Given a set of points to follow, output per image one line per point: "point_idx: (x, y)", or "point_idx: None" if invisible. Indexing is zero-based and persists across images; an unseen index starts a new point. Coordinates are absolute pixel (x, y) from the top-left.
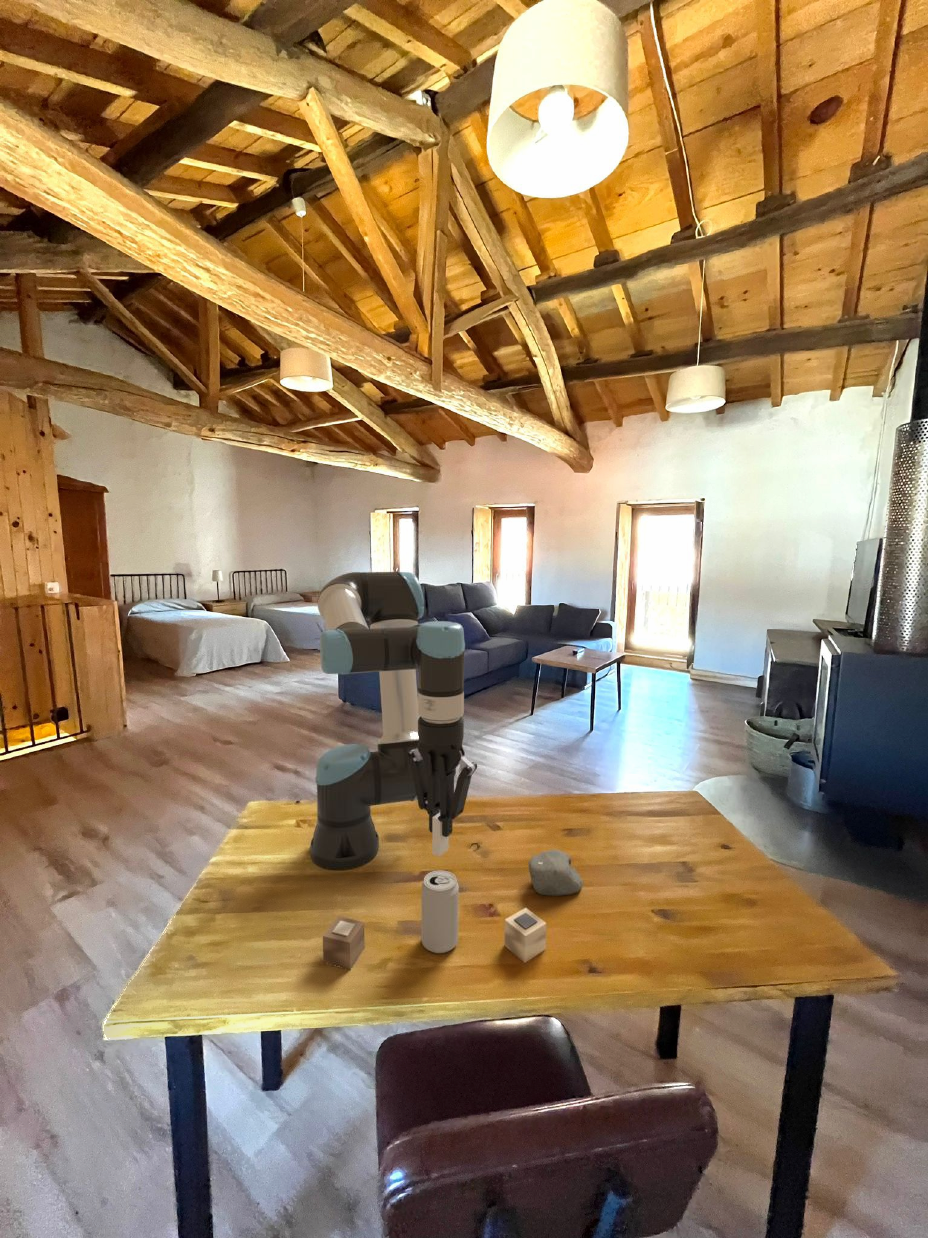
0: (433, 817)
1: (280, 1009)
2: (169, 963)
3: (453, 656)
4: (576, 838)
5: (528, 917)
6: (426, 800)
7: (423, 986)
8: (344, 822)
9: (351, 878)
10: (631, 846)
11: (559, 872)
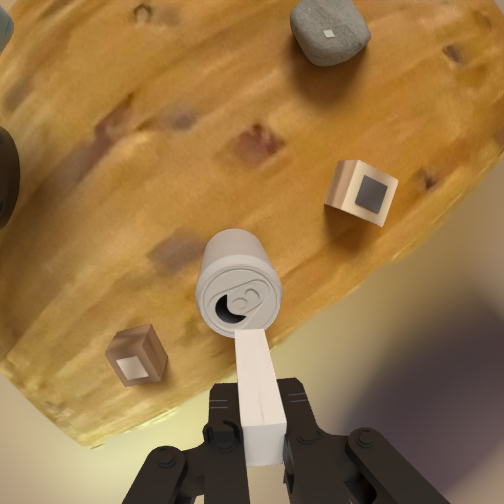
0: (248, 466)
1: (157, 413)
2: (47, 411)
3: None
4: None
5: (373, 184)
6: (180, 493)
7: None
8: None
9: (28, 222)
10: None
11: (365, 43)
